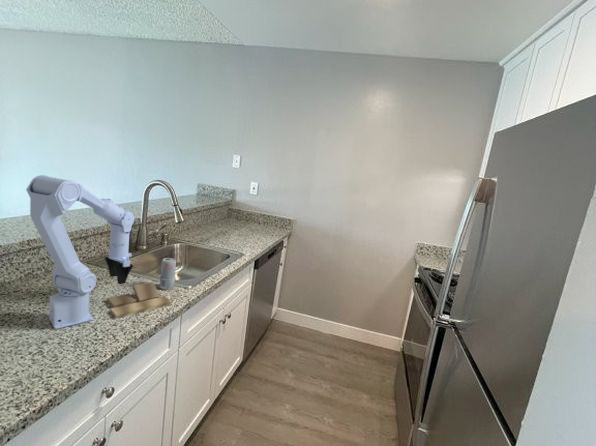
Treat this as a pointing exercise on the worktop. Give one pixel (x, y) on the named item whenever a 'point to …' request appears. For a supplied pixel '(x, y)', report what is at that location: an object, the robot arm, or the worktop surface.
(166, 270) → the energy drink
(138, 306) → the laid board
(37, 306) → the worktop surface
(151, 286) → the plank
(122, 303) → the brown flat square block
